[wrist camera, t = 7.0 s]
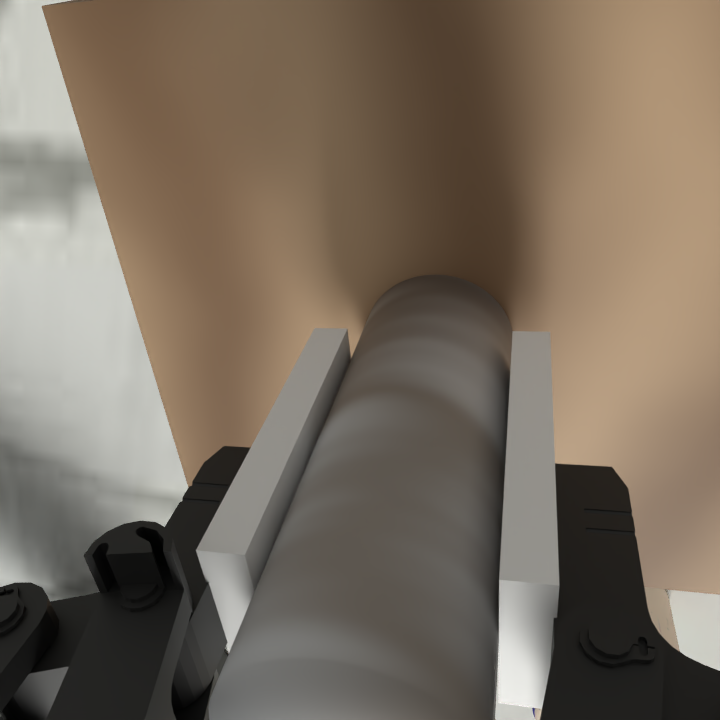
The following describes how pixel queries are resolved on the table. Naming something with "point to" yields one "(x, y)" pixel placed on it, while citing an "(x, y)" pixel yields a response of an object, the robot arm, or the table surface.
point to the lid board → (425, 183)
